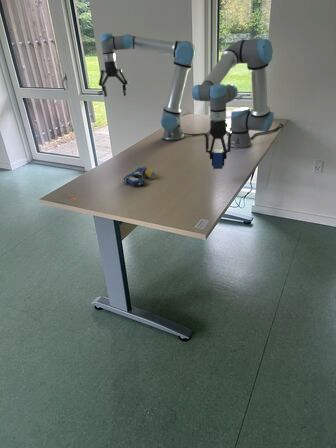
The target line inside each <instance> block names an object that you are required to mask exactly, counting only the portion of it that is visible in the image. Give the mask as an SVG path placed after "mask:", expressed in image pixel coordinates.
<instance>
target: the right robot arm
mask: <svg viewBox="0 0 336 448" xmlns="http://www.w3.org/2000/svg"><path fill="white" fill-rule="evenodd" d="M273 50H274V49H273V44H272V42H271V41H270V40H269V39H268V38H252V39H240V40H237V41H235V42H233V43H232V44H230V45H229V46H228V47H226V48H225V50H224V51H223V52H222V53H221V55H220V59H219V60H218V61H217V63H216V65H214V67H213V68H212V70H210V72H209V74H208V75H207V76H206V77H205V79H204V80H203V81H202V83H201V84H195V85H194V86H193V87H192V90H191V96H192V99H193V100H194V101H199V102H209V110H210V111H209V119H210V120H209V124H210V125H209V127H210V128H209V130H208V131H205V132H204V133H205V134H203V135H204V138H205V153H208V154H209V160H211V167H213V151H214V145H215V142H216V140H220V142H221V145H222V149H223V167H224V166H225V160H227V158H228V153H230V152H231V148H235V149H242V148H243V149H244V148H248V147H250V146H251V145H252V140H251V139H254V137H255V136H257V135H263V134H266V133H271V132H275V131H276V130H277V129H278V128H280V126H283V123H279V125H278V126H276V127H275V128H274V129H271V128H272V125H273V122H274V118H275V113H274V112H272V111H271V108H270V106H269V105H268V84H267V83H268V81H267V80H268V79H267V68H268V67H269V65H270V63H271V61H272V60H273V54H274V52H273ZM240 64H246V68H247V70H249V71H250V73H249V74H250V87H251V102H252V103H251V104H252V108H251V109H250V107H240V108H235V109H233V110H231V113H230V118H231V127H230V128H231V129H230V130H229V131H227V130H226V128H227V124H226V120H227V104H228V103H230V102H232V101H234V100H236V98H237V97H238V94H239V90H238V88H237V86H236V85H235V84H232V83H230V84H229V83H228V84H226V85H225V84H223V83H222V82H223V80H224V79H225V78H226V76H227V75H228V73H229V72H230V71H231V69H232V68H235V67H236V66H237V65H240ZM221 83H222V84H221ZM270 129H271V130H270ZM249 131H259V132H255V133H254V134H253V135H252V136H250V132H249ZM225 135H226V136H227V146H226V141H225ZM210 136H211V137H212V140H211V144H210V143H209V140H210V139H209V138H210ZM209 145H210V146H209Z"/></svg>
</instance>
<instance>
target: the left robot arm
mask: <svg viewBox="0 0 336 448" xmlns="http://www.w3.org/2000/svg"><path fill="white" fill-rule="evenodd" d="M99 36H100V44H101V50H102V57H103V61H104V68H105V69H101V70H100V77H99V81H98V86H100V87H101V90H102V92H103V96H104V98H106V97H108V92H107V87H106V83H107V81H108V79H109V78H117V80H118V81H119V82H120V83H121V84H122V92H123V97H125V96H127V89H128V88H127V85H128V84H129V83H130V82H129V80H128V78H127V76H126V75H125V74H124V72H123V68H118V64H117V61H116V60H117V58H116V52H115V51H121V50H131V49H133V50H137V51H145V52H151V53H157V54H161V55H162V54H163V55H167V56H172V57H173V58H174V59H173V63H172V64H173V66H174V70H173V76H172V79H171V85H170V90H169V94H168V98H167V103H166V105H165V106H163V108H162V116H161V118H160V124H161V127H162V128H163V129H164V130H163V135H162V139H163V140H164V141H167V142H176V141H180V140H182V139H184V137H185V135H186V136H187V135H188V136H200V135H201V136H202V135H204V134H205V132H202V133H185V132H183V129H182V126H181V113H182V110H181V109H180V107H181V103H182V99H183V94H184V90H185V88H186V82H187V77H188V73H189V71H190V70H191V69H192V66H193V64H194V63H193V62H194V60H195V59H194V58H195V55H196V48H195V45H194V44H193V43H192V41H191V42H190V41H187V40H182V41H180V40H175V41H169V40H162V39H158V38H157V39H156V38H150V37H144V36H139V35H138V36H136V35H131V34H129V33H126V34H124V35H115V36H114V35H113V33H111V32H110V33H109V32H107V33H101V34H100V35H99ZM118 73H119V74H118ZM105 74H106V75H105ZM104 76H105V78H104ZM229 130H231V127H230V129H229Z"/></svg>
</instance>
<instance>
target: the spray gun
mask: <svg viewBox="0 0 336 448" xmlns="http://www.w3.org/2000/svg"><path fill="white" fill-rule="evenodd" d="M144 176H146V177H147V178H148V179H150V180H154V179H156V176H157V174H156V172H155V171H154V170H152V169H150V168H147V166H136V168H135V169H133V170H132V171H131V172H130V173H129V174H127V175H126V176H124V177H123V180H122V182H123V183H124V184H126V185H127V184H128V185H131V186H132V187H139V186H143V184H145V179H144Z"/></svg>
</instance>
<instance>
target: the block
mask: <svg viewBox="0 0 336 448" xmlns="http://www.w3.org/2000/svg"><path fill="white" fill-rule="evenodd" d="M212 152H213V166H212V169H213V170H223V169H224V166H223V152H224V150H223V148H213V150H212Z"/></svg>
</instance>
